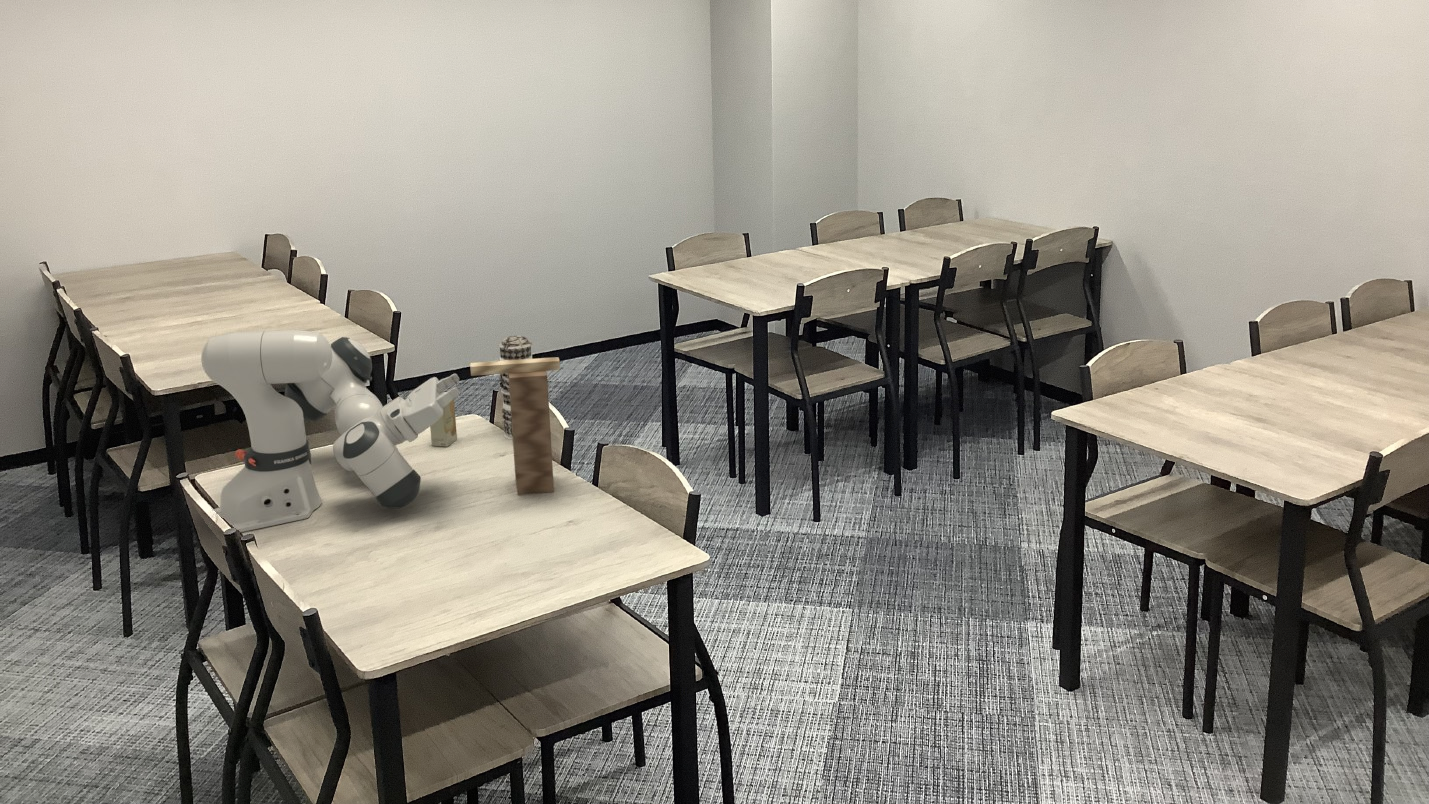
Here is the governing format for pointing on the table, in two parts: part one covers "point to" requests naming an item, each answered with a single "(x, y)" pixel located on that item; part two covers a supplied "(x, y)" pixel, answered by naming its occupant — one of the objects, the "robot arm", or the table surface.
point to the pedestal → (531, 432)
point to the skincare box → (444, 427)
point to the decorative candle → (508, 351)
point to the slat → (515, 366)
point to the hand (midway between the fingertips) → (457, 383)
